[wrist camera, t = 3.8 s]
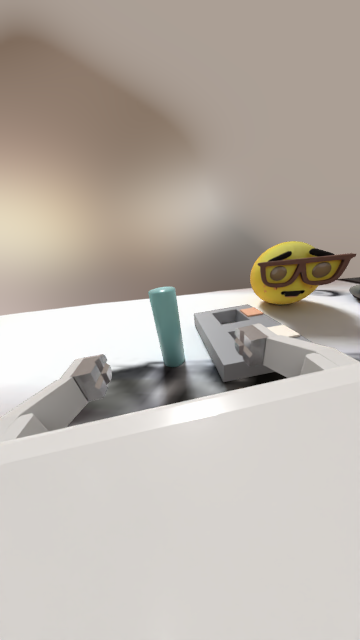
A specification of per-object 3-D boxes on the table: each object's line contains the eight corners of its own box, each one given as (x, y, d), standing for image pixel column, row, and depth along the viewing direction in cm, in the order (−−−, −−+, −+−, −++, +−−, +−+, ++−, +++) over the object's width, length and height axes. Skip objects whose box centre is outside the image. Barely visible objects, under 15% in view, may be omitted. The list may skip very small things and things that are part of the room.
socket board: (223, 382, 20) (223, 363, 18) (194, 325, 35) (193, 312, 34) (313, 363, 21) (320, 344, 19) (247, 315, 36) (248, 303, 34)
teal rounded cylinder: (178, 369, 23) (165, 294, 18) (159, 363, 24) (142, 293, 19) (188, 355, 26) (179, 286, 20) (170, 350, 27) (158, 286, 22)
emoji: (253, 316, 35) (260, 247, 29) (243, 295, 49) (246, 245, 43) (334, 314, 31) (363, 234, 25) (298, 293, 45) (311, 237, 39)
